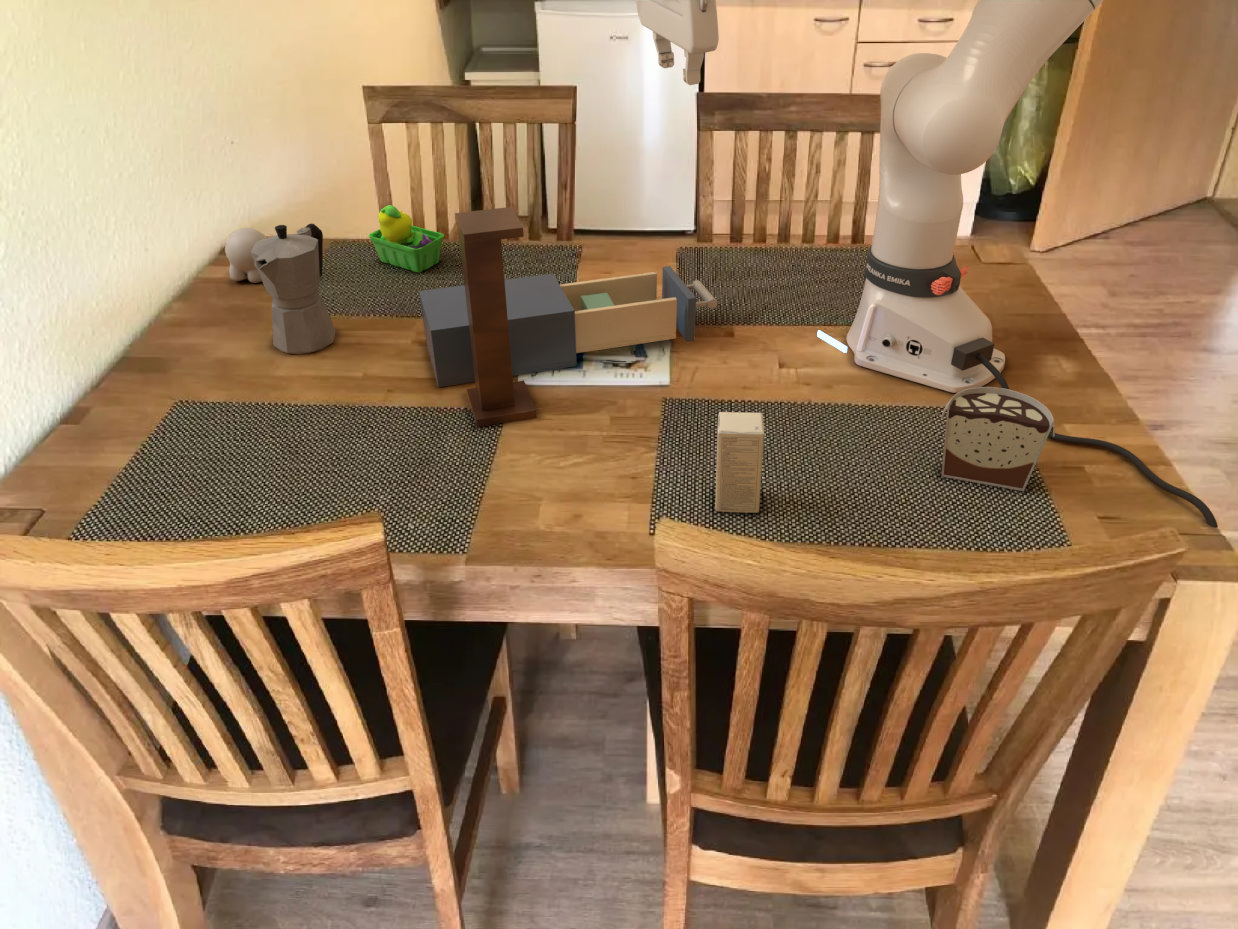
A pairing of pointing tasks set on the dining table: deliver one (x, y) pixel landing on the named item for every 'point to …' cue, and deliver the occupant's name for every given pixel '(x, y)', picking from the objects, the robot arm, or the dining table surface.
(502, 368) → the pedestal
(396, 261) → the fruit basket
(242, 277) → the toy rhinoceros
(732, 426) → the box
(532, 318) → the cabinet
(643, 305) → the drawer
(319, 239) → the coffeepot
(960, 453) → the food container
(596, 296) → the brush
